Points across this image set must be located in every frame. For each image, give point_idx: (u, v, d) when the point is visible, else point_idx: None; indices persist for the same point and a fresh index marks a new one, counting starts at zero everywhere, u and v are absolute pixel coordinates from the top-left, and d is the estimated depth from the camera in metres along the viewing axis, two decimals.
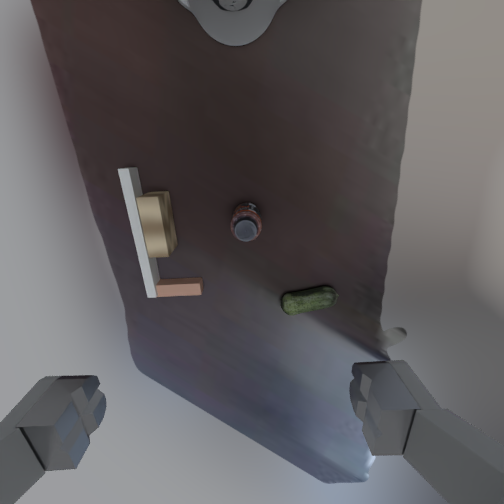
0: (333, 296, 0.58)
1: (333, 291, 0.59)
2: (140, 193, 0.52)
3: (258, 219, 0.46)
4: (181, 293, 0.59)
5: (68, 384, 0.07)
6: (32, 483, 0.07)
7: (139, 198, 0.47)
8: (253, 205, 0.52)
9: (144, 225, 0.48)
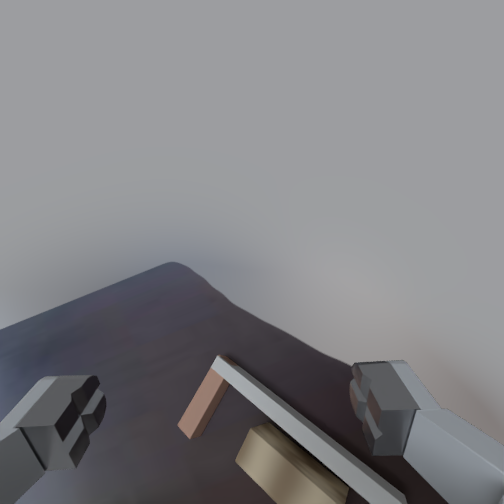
0: None
1: None
2: None
3: None
4: (195, 398, 0.40)
5: (68, 384, 0.07)
6: (32, 483, 0.07)
7: None
8: None
9: (295, 473, 0.28)
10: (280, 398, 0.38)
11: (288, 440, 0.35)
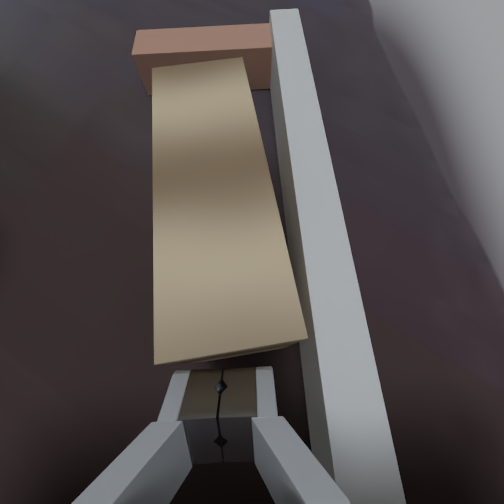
0: None
1: None
2: (305, 361, 0.12)
3: None
4: (197, 30, 0.19)
5: (205, 378, 0.07)
6: (184, 476, 0.07)
7: (284, 335, 0.07)
8: None
9: (256, 178, 0.09)
10: None
11: None
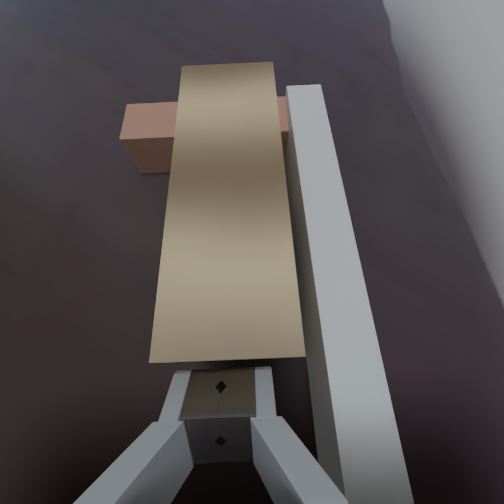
0: None
1: None
2: None
3: None
4: None
5: (206, 378, 0.07)
6: (186, 476, 0.07)
7: (282, 350, 0.07)
8: None
9: (272, 186, 0.09)
10: None
11: None
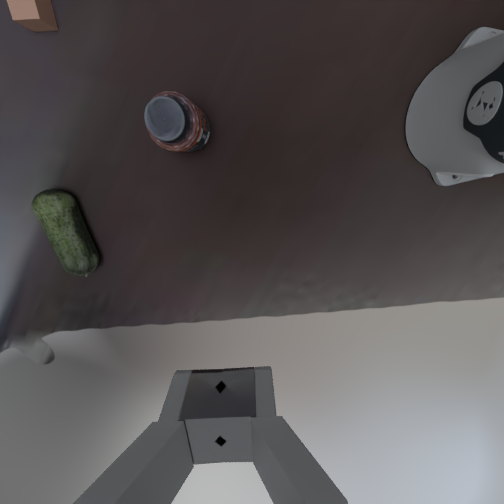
0: (83, 270, 0.39)
1: (91, 269, 0.40)
2: None
3: (187, 145, 0.28)
4: None
5: (206, 378, 0.07)
6: (186, 476, 0.07)
7: None
8: (206, 139, 0.34)
9: None
10: None
11: None
